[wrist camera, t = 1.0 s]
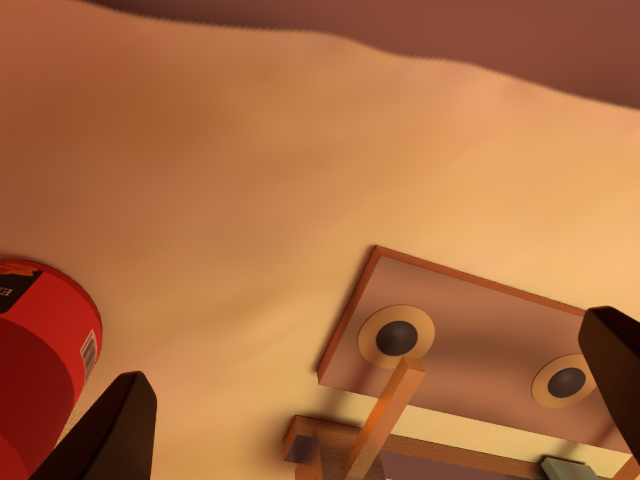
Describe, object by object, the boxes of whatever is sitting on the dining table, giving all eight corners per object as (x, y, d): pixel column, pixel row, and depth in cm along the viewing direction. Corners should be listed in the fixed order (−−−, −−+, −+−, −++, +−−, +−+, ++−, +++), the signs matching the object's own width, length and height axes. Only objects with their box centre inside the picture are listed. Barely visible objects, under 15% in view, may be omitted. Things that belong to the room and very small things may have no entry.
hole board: (649, 447, 34) (664, 463, 33) (316, 370, 28) (318, 387, 27) (732, 356, 31) (752, 370, 30) (376, 245, 25) (382, 257, 23)
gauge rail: (595, 506, 37) (668, 614, 30) (279, 449, 30) (282, 570, 24) (693, 399, 33) (804, 497, 26) (347, 305, 26) (375, 404, 19)
